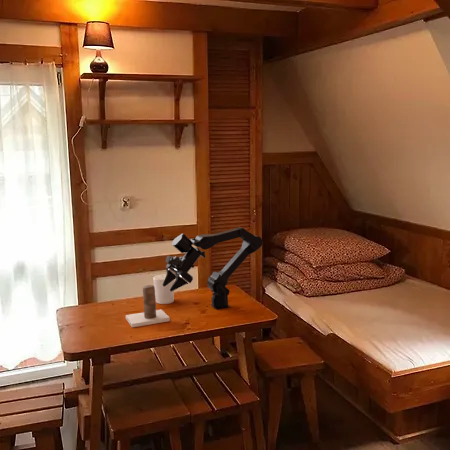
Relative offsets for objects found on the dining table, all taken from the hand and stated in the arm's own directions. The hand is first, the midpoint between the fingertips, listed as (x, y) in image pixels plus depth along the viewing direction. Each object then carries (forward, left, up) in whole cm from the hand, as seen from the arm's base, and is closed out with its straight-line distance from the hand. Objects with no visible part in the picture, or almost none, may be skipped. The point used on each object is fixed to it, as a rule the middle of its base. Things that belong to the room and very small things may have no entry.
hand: (166, 288), depth 228 cm
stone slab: (+9, 0, -13) cm, 16 cm away
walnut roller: (+8, +1, -11) cm, 14 cm away
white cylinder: (-5, -21, -13) cm, 25 cm away
